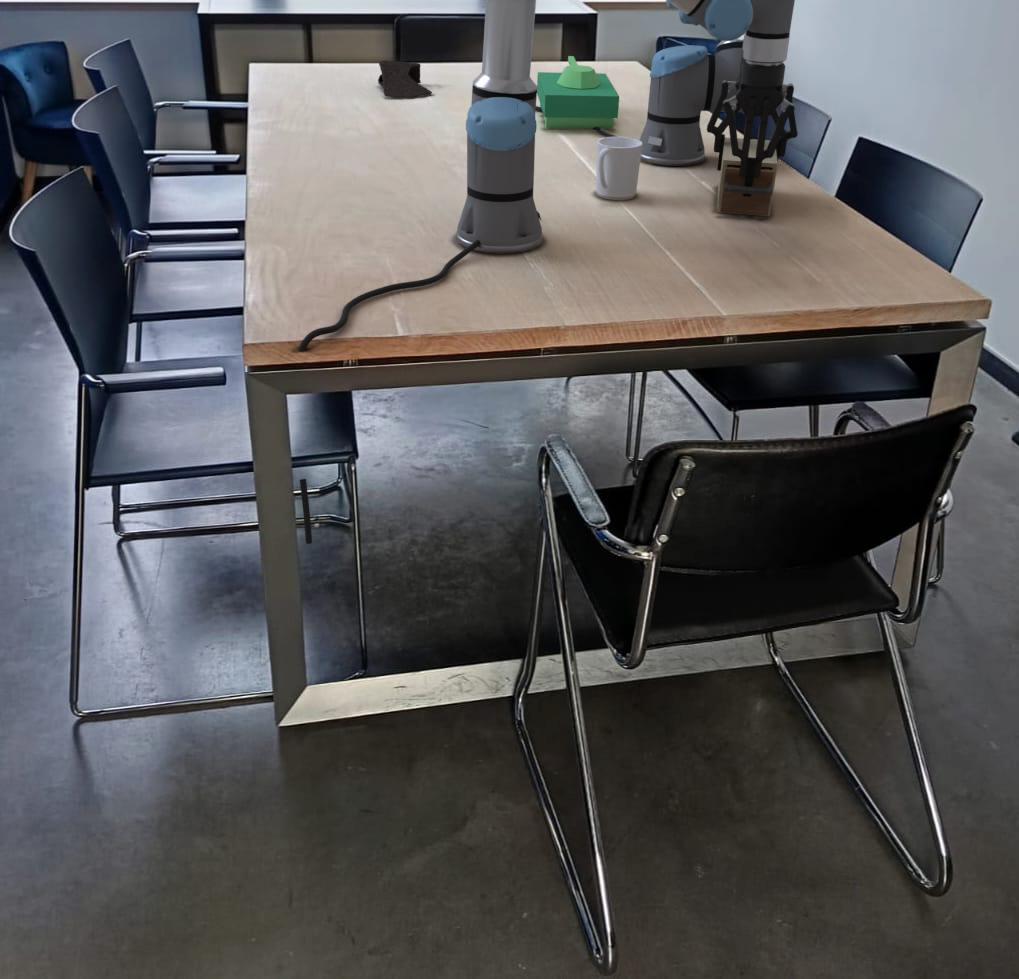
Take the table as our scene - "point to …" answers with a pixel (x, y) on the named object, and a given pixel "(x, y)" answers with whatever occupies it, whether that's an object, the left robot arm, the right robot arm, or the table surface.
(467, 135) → the left robot arm
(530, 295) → the table surface
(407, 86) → the axe head
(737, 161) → the cabinet
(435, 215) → the table surface
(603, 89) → the toy tank
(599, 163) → the mug
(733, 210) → the drawer
